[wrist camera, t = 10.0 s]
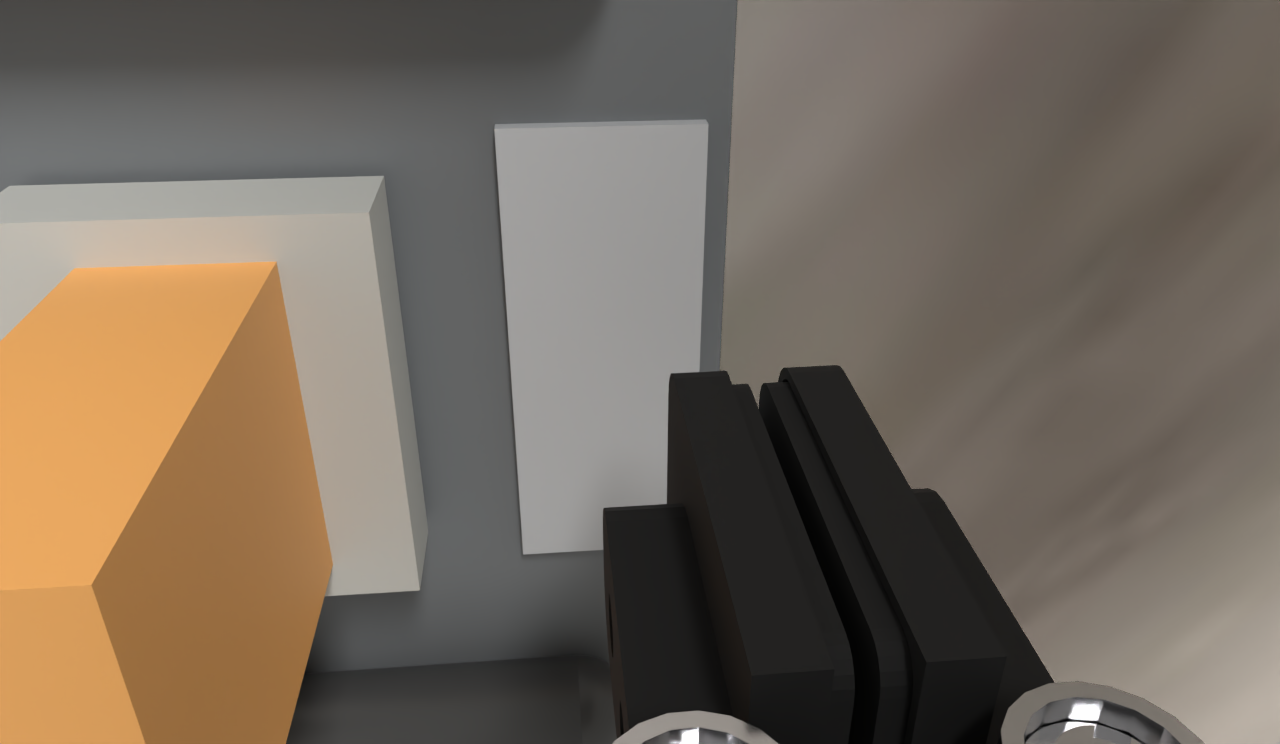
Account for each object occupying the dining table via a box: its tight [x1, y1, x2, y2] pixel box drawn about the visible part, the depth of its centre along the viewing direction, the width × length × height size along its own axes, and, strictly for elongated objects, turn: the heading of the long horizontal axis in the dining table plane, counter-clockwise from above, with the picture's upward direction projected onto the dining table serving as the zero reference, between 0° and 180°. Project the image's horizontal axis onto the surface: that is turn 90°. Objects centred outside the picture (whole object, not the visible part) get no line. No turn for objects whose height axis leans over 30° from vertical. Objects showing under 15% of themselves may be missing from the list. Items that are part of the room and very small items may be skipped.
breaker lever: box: [0, 176, 428, 744], centre depth 10 cm, size 4×5×6 cm
